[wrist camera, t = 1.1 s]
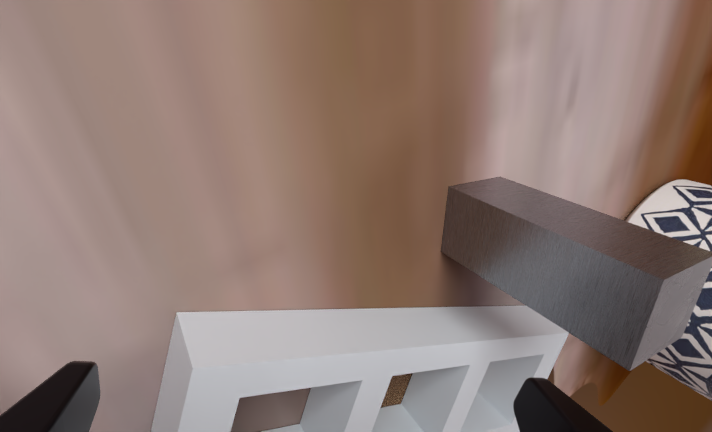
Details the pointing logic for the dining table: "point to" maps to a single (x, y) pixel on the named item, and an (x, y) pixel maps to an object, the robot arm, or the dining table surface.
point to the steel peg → (577, 266)
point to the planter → (708, 320)
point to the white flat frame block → (357, 366)
